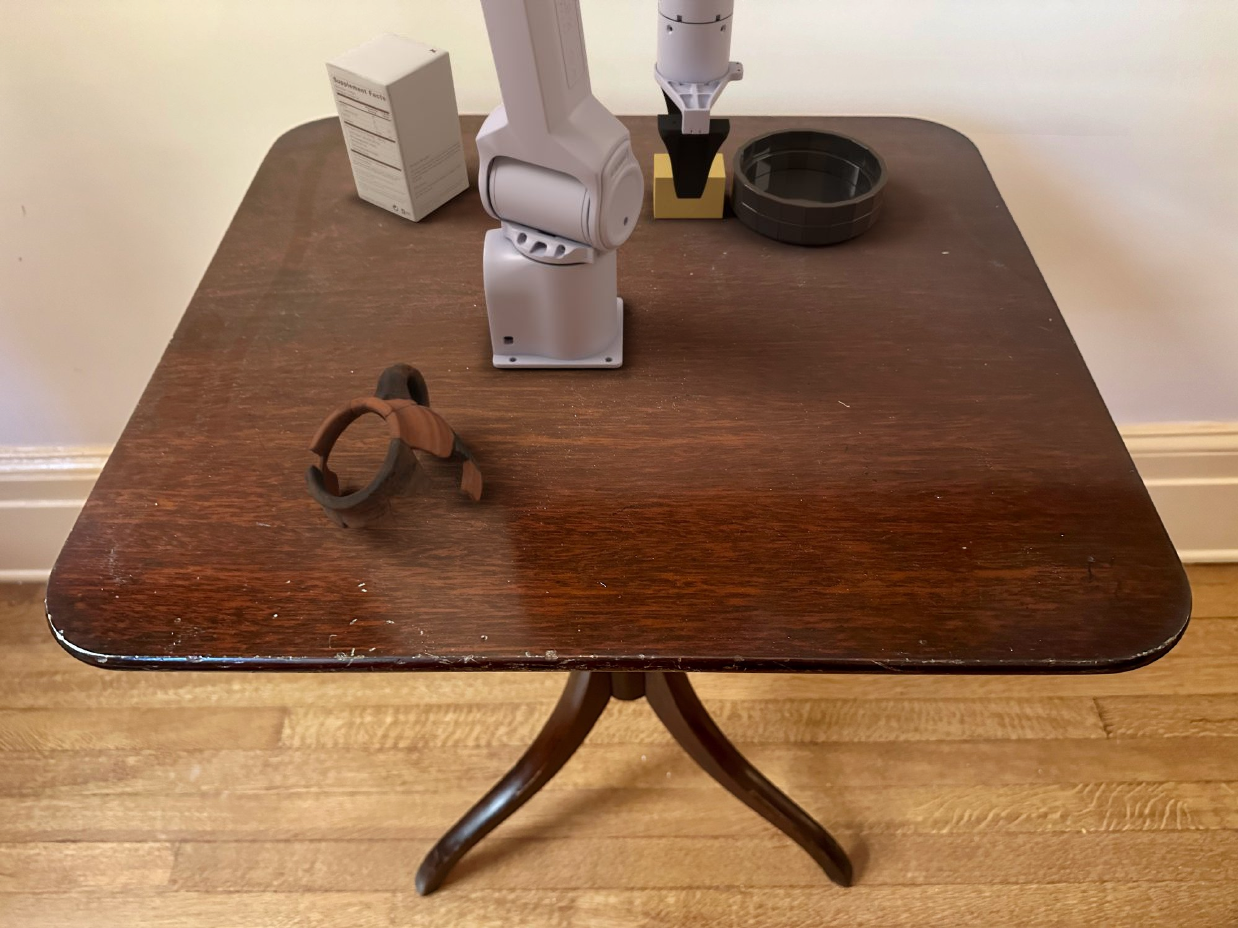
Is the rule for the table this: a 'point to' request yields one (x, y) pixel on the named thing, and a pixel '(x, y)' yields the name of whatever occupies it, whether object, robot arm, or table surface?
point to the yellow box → (688, 208)
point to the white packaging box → (400, 123)
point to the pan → (807, 185)
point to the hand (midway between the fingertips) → (687, 173)
